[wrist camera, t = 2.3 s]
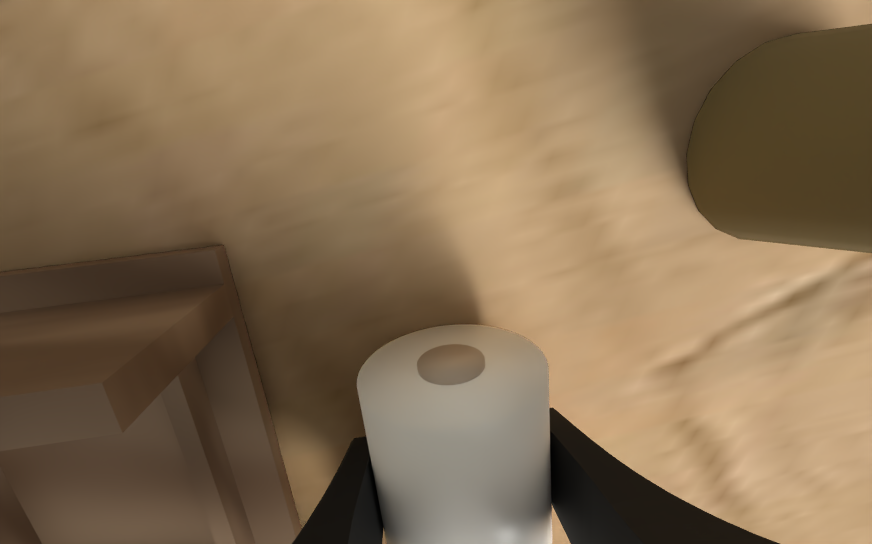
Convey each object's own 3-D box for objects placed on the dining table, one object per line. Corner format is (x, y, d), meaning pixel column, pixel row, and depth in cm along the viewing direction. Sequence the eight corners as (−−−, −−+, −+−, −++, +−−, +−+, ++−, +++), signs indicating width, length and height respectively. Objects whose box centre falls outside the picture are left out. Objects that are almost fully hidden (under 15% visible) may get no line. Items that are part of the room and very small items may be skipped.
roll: (524, 486, 15) (581, 637, 11) (394, 506, 15) (393, 671, 10) (516, 311, 13) (583, 404, 8) (363, 332, 13) (344, 440, 8)
